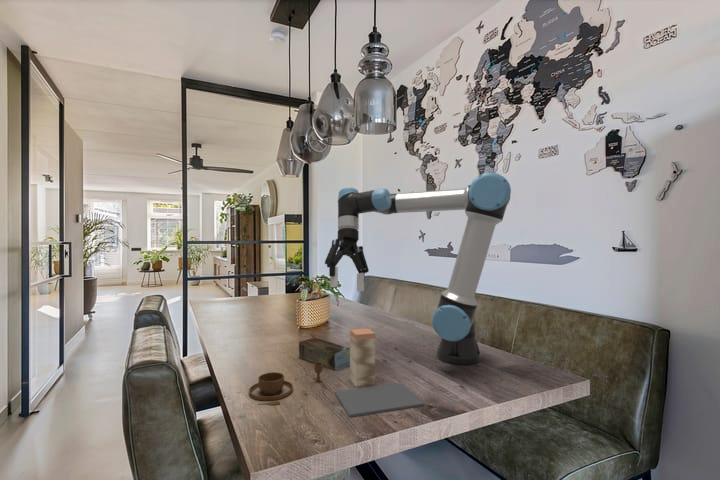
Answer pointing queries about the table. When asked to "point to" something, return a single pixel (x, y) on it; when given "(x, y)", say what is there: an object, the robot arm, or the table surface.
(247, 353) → the table surface
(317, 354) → the beverage carton
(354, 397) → the rubber mat
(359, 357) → the birch block
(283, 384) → the place setting
